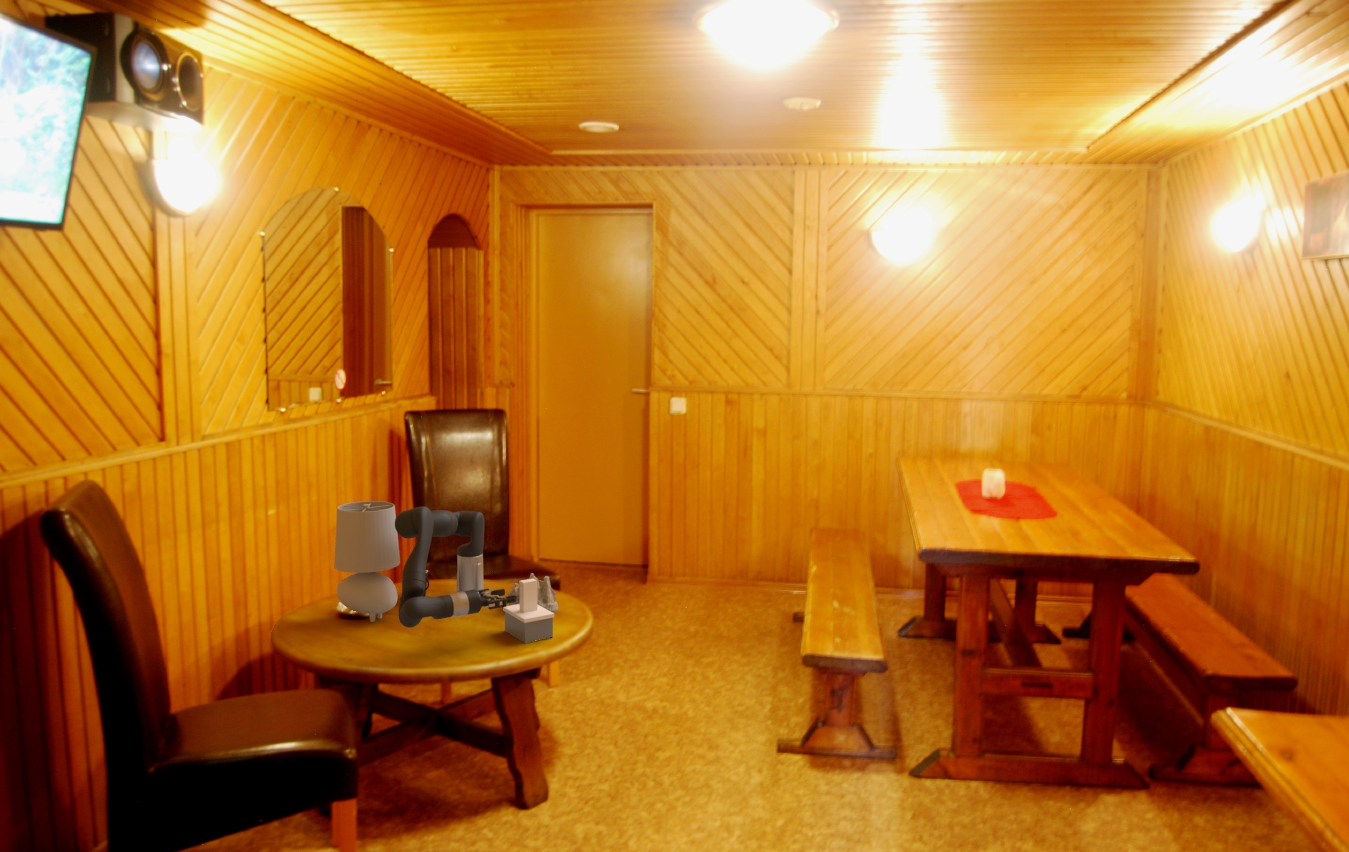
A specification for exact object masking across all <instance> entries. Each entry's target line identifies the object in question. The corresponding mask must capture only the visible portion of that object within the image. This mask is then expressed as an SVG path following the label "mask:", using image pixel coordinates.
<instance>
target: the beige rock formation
mask: <svg viewBox="0 0 1349 852" xmlns="http://www.w3.org/2000/svg"><path fill="white" fill-rule="evenodd" d="M528 579H535V580H537V605H539V606H541V607H543V608H545V609H547V610H549V611H551V612H552V613H554V612H556V611H558V610H559V605H558V602H557V600H556V599H557V598H556V594H557V592H556V591H554V589H553V588H552V586H551V581H550V576H548V575H545V576H544V577H543V580H541V579H538V577H536V576H535V574H534V573H533V572H532V573H530V574H529V578H528ZM512 595H515V596H516V602H514V603H508V605H507V606H511V605H516V604H520V592H519V584H518V583H516V582H515V583H514V585H513V587H512V588H511V589H510V590H509V592H508V593H507V596H512Z"/></svg>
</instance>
